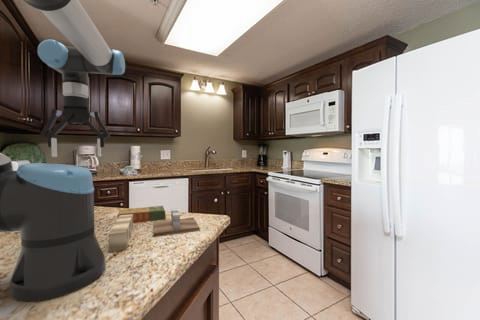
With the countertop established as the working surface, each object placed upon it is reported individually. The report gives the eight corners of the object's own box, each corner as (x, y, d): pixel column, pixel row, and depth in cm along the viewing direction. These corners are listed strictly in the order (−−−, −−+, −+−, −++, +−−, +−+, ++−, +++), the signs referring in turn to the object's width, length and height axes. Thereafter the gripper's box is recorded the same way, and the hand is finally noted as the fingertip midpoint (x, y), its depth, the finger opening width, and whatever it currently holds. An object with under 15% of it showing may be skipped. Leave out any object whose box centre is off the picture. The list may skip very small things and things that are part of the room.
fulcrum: (199, 230, 74) (199, 214, 74) (153, 236, 69) (153, 219, 69) (193, 220, 85) (193, 205, 85) (153, 224, 80) (152, 209, 80)
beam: (126, 250, 60) (125, 232, 60) (109, 253, 59) (108, 234, 58) (133, 228, 77) (132, 214, 77) (120, 230, 76) (119, 215, 75)
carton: (119, 219, 87) (119, 208, 87) (163, 215, 94) (163, 204, 94) (117, 226, 80) (117, 214, 79) (165, 220, 86) (165, 209, 86)
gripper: (116, 102, 90) (118, 156, 91) (36, 96, 80) (38, 157, 81) (114, 97, 83) (115, 156, 84) (26, 91, 73) (28, 157, 74)
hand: (77, 156), depth 82 cm, fingers open, 13 cm apart
